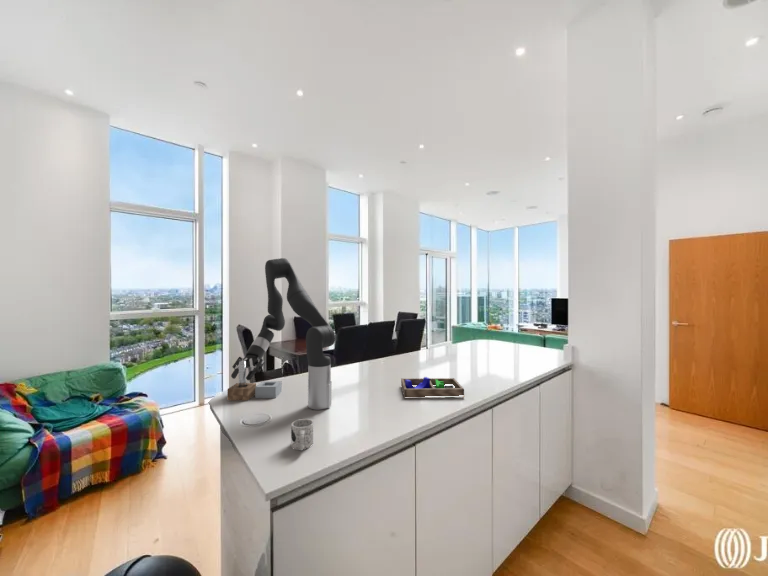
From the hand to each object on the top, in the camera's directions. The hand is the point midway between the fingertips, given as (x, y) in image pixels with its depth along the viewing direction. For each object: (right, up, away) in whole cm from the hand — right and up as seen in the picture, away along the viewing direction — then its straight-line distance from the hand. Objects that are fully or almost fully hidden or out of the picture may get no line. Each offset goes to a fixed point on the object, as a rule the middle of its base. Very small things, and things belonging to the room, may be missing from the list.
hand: (240, 378), depth 141 cm
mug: (+40, -8, -45) cm, 60 cm away
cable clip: (+80, -9, +9) cm, 81 cm away
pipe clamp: (+92, -9, +10) cm, 92 cm away
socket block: (+11, -9, +4) cm, 15 cm away
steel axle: (0, -9, +1) cm, 9 cm away
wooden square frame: (0, -9, +1) cm, 9 cm away
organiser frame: (+87, -9, +9) cm, 88 cm away
